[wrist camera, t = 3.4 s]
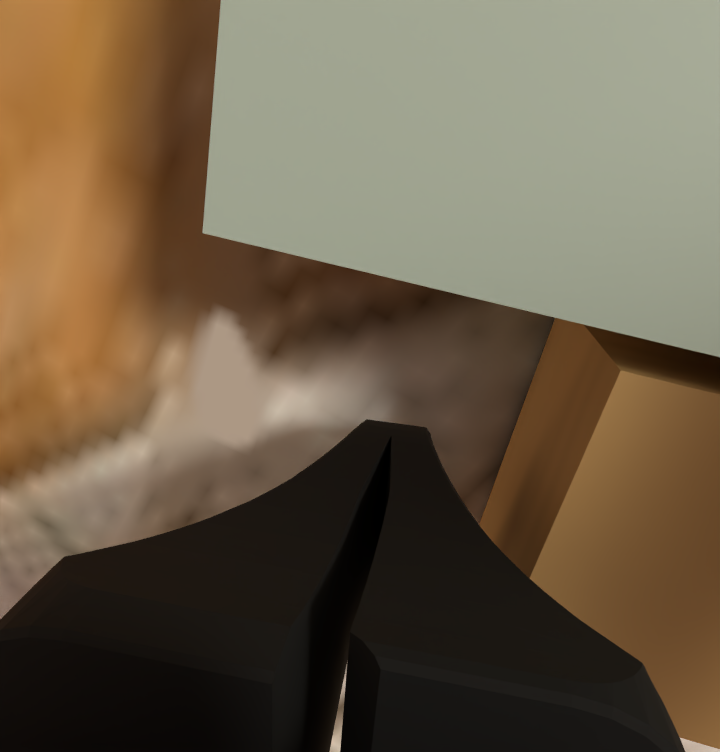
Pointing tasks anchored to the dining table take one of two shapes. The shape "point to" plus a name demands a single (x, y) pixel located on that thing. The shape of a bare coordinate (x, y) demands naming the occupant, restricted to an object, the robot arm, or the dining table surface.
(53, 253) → the dining table surface
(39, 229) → the dining table surface
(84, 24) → the dining table surface
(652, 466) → the tan block
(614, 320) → the lid
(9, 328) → the dining table surface
